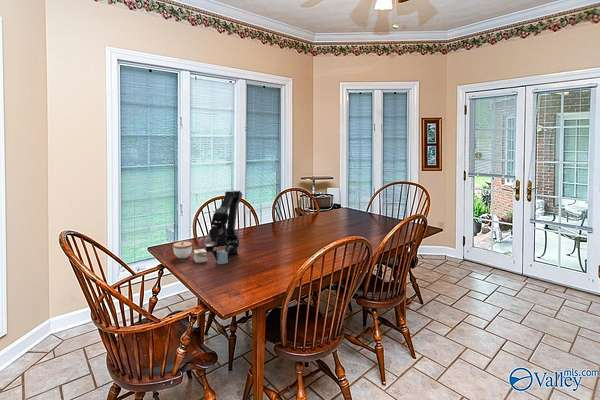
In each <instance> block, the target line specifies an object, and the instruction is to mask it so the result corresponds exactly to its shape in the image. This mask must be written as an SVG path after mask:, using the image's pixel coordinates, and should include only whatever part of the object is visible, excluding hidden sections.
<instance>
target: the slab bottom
mask: <svg viewBox="0 0 600 400" xmlns="http://www.w3.org/2000/svg"><path fill="white" fill-rule="evenodd" d="M193 260H194V262H195V263H197V264H199V263H204V262H208V256H207V257H202V258H196V257H195V256H194V255H193ZM198 262H199V263H198Z"/></svg>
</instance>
